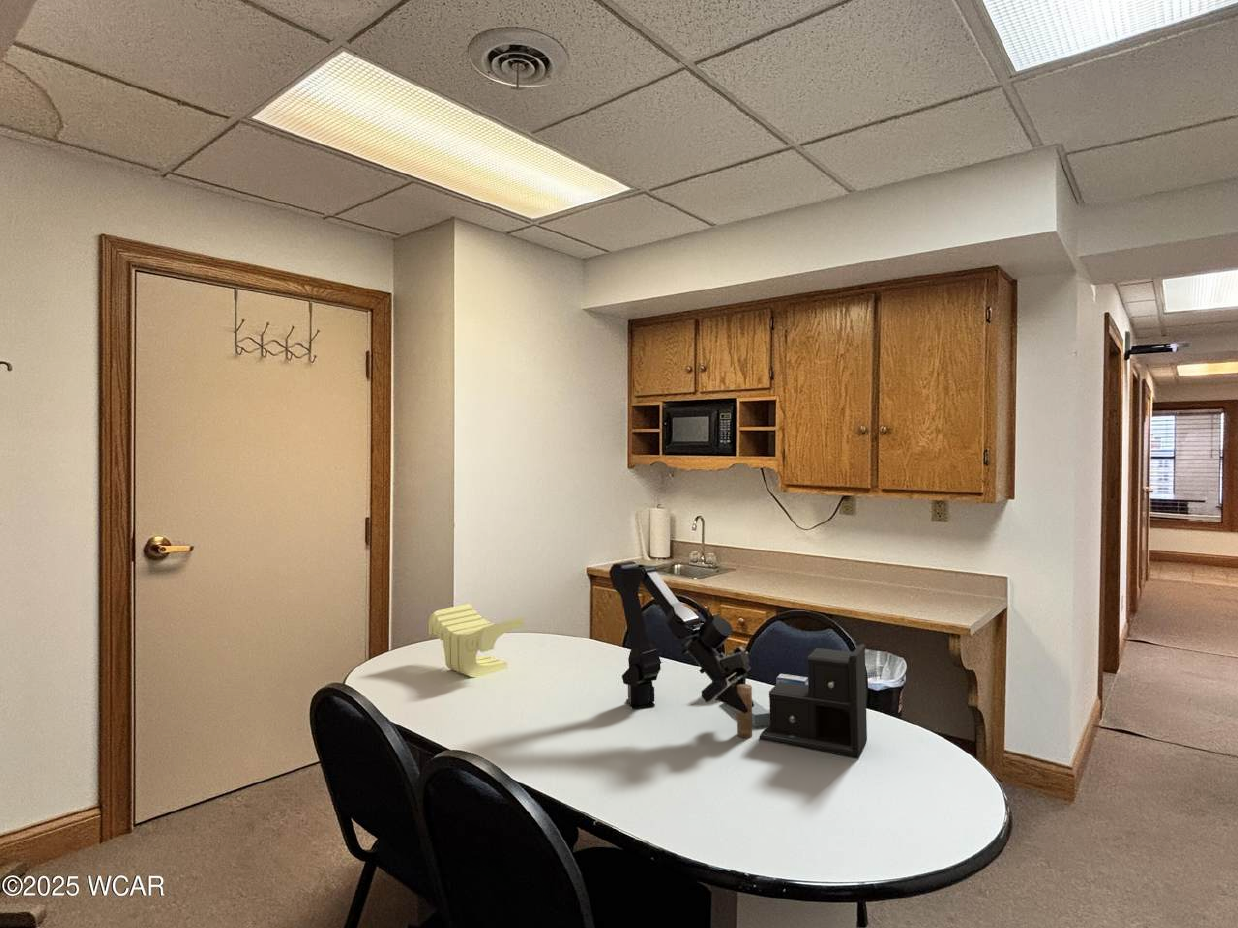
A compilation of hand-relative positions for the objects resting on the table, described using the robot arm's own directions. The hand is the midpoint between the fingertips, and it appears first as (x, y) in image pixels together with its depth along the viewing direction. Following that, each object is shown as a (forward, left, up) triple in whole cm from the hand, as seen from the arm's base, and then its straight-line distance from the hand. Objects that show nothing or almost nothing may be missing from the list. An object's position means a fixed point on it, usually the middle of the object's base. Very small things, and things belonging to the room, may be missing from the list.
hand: (749, 709), depth 173 cm
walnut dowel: (-1, +1, -7) cm, 7 cm away
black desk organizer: (+13, -7, -7) cm, 16 cm away
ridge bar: (+6, +14, -7) cm, 17 cm away
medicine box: (+19, +13, -7) cm, 24 cm away
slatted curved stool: (-60, +75, -7) cm, 96 cm away
